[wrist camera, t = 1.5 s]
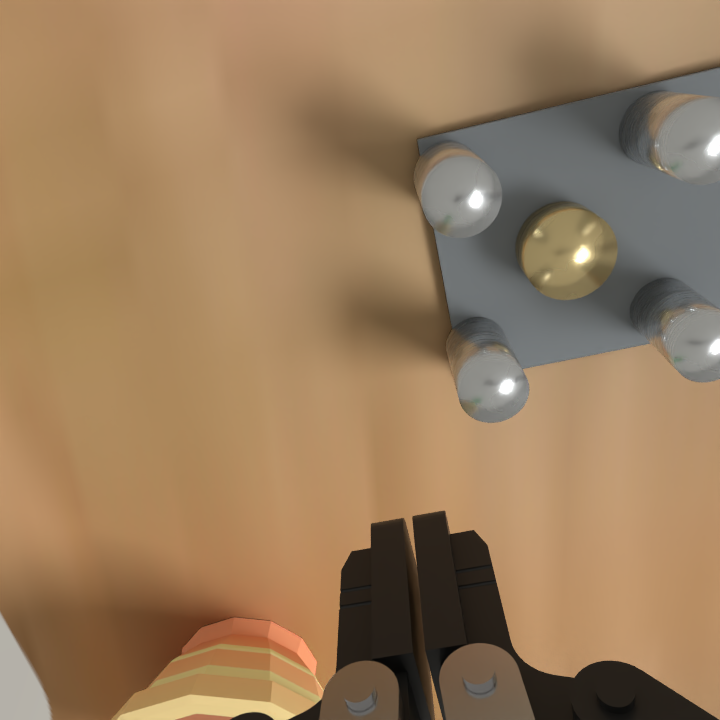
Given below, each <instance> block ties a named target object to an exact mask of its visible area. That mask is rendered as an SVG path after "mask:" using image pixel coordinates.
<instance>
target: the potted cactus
mask: <svg viewBox="0 0 720 720" xmlns="http://www.w3.org/2000/svg"><path fill="white" fill-rule="evenodd" d="M316 665H317V661H316V660H315V658H314V657H313V655H312V653H311V652H310V650H309V649H308V647H307V645H306V644H305V642H304V641H303V639H302V638H301V637H299V636H298V635H296V634H294V633H292V632H290V631H288V630H287V629H285V628H283V627H281V626H279V625H277V624H276V623H274V622H272V621H265V620H256V619H246V618H236V617H233V618H230V619H227V620H224V621H220V622H217V623H214V624H211V625H208V626H204V627H201V628H200V629H199V630H198V631H197V633H196V634H195V635H194V636H193V637H192V638H191V639H190V640H189V641H188V643H187V644H186V645H185V646H184V647H183V648H182V655H180V656H178V657H177V658H175V659H173V660H172V661H171V662H170V663H169V664H168V665H167V666H166V668H165V669H164V670H163V671H162V672H161V673H160V674H159V675H158V676H157V677H156V679H155V680H154V681H153V682H152V683H151V684H150V685H149V686H148V687H147V689H145V690H142V691H139V692H135V693H134V694H133V695H132V697H131V698H130V699H129V700H128V701H127V702H126V703H125V704H124V706H123V707H122V708H121V709H120V710H119V711H118V712H117V713H116V714H115V716H114V717H113V718H112V719H111V720H230V719H232V718H233V717H236V716H238V715H240V714H244V713H249V712H260V713H264V714H266V715H268V716H270V717H272V718H273V719H274V720H288V719H290V718H292V717H294V716H296V715H299V714H301V713H303V712H304V711H306V710H308V709H310V708H311V707H313V706H314V705H315V704H317V703H318V702H319V701H320V700H321V699H322V696H323V692H324V690H323V689H322V687H321V685H320V684H319V682H318V681H317V679H316V678H315V672H316Z"/></svg>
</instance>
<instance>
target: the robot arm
mask: <svg viewBox="0 0 720 720" xmlns="http://www.w3.org/2000/svg"><path fill="white" fill-rule="evenodd" d="M413 530H414V540H415V550H416V561H417V566H416V562H415V558H414V554H413V550H412V546H411V542H410V538H409V534H408V530H407V526H406V522H405V519H404V518H400V519H395V520H389V521H383V522H378V523H372V524H371V548H369V549H363V550H357V551H352V552H351V554H350V555H349V557H348V559H347V561H346V563H345V565H344V566H343V568H342V570H341V589H340V590H341V594H340V610H339V627H338V647H337V666H336V674H334V675H333V677H332V678H331V679H330V680H329V682H328V683H327V685H326V687H325V690H324V692H323V696H322V699H321V700H320V701H319V702H318V703H317V704H315V705H314V706H313V707H311V708H310V709H308V710H306V711H304V712H303V713H301V714H299V715H296V716H294V717H292V718H290V719H288V720H435V715H434V705H433V695H432V685H431V675H432V679H433V682H434V686H435V690H436V694H437V698H438V701H439V705H440V709H441V713H442V717H443V720H719V719H717V718H716V717H714V716H712V715H711V714H709V713H708V712H706V711H705V710H703V709H701V708H700V707H698V706H697V705H695V704H694V703H692V702H690V701H689V700H687V699H686V698H684V697H683V696H681V695H679V694H678V693H676V692H675V691H673V690H672V689H670V688H668V687H667V686H665V685H664V684H662V683H661V682H659V681H658V680H656V679H654V678H653V677H651V676H650V675H648V674H647V673H645V672H643V671H642V670H640V669H638V668H636V667H635V666H632V665H630V664H627V663H623V662H619V661H601V662H596V663H593V664H590V665H588V666H587V667H585V668H583V669H582V670H581V671H580V672H579V673H578V674H577V675H576V676H575V678H571V677H564V676H557V675H552V674H547V673H544V672H541V671H538V670H536V669H535V668H533V667H531V666H529V665H528V664H527V663H525V662H524V661H523V660H522V659H521V658H520V657H519V656H518V654H517V653H516V652H515V650H514V648H513V646H512V643H511V640H510V636H509V632H508V628H507V624H506V620H505V616H504V611H503V607H502V603H501V599H500V595H499V591H498V587H497V583H496V579H495V574H494V570H493V567H492V562H491V558H490V554H489V550H488V546H487V544H486V543H485V542H484V541H483V540H482V539H481V538H480V537H479V535H478V534H477V533H476V532H475V531H474V530H471V531H466V532H460V533H454V534H450V531H449V526H448V522H447V517H446V513H445V511H439V512H433V513H428V514H422V515H417V516H413ZM430 671H431V675H430ZM230 720H274V719H273V718H272V717H270V716H268V715H266V714H264V713H260V712H249V713H244V714H240V715H238V716H236V717H233V718H232V719H230Z"/></svg>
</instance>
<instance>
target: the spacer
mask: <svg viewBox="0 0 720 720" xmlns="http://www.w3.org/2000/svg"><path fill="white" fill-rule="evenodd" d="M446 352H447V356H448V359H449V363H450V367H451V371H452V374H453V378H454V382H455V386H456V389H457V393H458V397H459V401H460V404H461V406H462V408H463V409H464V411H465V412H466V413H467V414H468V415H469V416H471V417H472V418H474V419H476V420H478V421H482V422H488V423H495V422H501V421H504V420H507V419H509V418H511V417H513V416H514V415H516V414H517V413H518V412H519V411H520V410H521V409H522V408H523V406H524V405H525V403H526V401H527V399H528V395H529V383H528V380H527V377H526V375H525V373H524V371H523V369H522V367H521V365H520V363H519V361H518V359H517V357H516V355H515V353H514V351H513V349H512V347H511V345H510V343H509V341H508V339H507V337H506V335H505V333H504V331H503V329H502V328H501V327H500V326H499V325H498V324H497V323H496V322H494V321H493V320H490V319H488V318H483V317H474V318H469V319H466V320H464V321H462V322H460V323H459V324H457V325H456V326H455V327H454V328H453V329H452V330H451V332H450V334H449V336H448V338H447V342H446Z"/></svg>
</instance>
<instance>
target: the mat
mask: <svg viewBox="0 0 720 720" xmlns="http://www.w3.org/2000/svg"><path fill="white" fill-rule="evenodd" d="M654 91H669V92H677V93H686V94H694V95H702V96H710V97H719V98H720V67H717V68H713V69H708V70H704V71H700V72H696V73H692V74H688V75H683V76H679V77H675V78H671V79H667V80H662V81H658V82H654V83H650V84H646V85H642V86H637V87H633V88H629V89H625V90H621V91H616V92H612V93H608V94H604V95H600V96H596V97H591V98H587V99H583V100H579V101H575V102H571V103H566V104H562V105H558V106H554V107H550V108H545V109H541V110H537V111H533V112H529V113H525V114H520V115H516V116H512V117H508V118H504V119H499V120H495V121H491V122H487V123H483V124H479V125H474V126H470V127H466V128H462V129H458V130H453V131H449V132H445V133H441V134H437V135H433V136H428V137H424V138H420V139H417V142H418V148H419V153H420V156H421V155H422V154H423V153H424V152H425V151H426V150H427V149H428V148H429V147H431V146H432V145H435V144H437V143H440V142H444V141H455V142H459V143H461V144H464V145H465V146H467V147H468V148H470V149H471V150H472V151H473V152H474V153H475V154H476V155H478V156H479V157H480V158H481V159H482V160H483V161H484V162H485V163H486V164H487V165H488V166H490V167H491V168H492V170H493V171H494V172H495V173H496V175H497V177H498V179H499V181H500V184H501V188H502V203H501V207H500V210H499V212H498V214H497V216H496V218H495V219H494V221H493V222H492V223H491V224H490V225H489V226H488V227H487V228H486V229H485V230H483V231H482V232H480V233H479V234H476V235H474V236H471V237H466V238H452V237H448V236H446V235H443V234H441V233H439V232H438V231H437V230H435V229H434V228H433V229H434V234H435V239H436V245H437V250H438V255H439V261H440V266H441V272H442V277H443V282H444V288H445V293H446V299H447V304H448V309H449V315H450V320H451V325H452V329H453V328H454V327H455V326H456V325H457V324H459V323H460V322H462V321H464V320H466V319H469V318H474V317H483V318H488V319H490V320H493V321H494V322H496V323H497V324H498V325H499V326H500V327H501V328H502V329H503V331H504V333H505V335H506V337H507V339H508V341H509V343H510V345H511V347H512V349H513V351H514V353H515V355H516V357H517V359H518V361H519V363H520V365H521V367H522V369H524V368H529V367H534V366H539V365H544V364H549V363H555V362H560V361H565V360H570V359H575V358H580V357H585V356H590V355H595V354H600V353H605V352H610V351H615V350H620V349H625V348H630V347H635V346H640V345H645V344H650V342H649V341H648V340H647V339H646V338H645V337H644V336H643V335H642V334H641V333H640V332H639V331H638V330H637V329H636V328H635V327H634V325H633V323H632V321H631V318H630V306H631V303H632V301H633V298H634V297H635V295H636V294H637V292H638V291H639V290H640V289H641V288H642V287H644V286H645V285H646V284H648V283H650V282H652V281H654V280H657V279H661V278H674V279H678V280H680V281H682V282H684V283H685V284H686V285H688V286H689V287H691V288H692V289H693V290H695V291H696V292H698V293H699V294H700V295H702V296H703V297H704V298H706V299H707V300H709V301H710V302H711V303H713V304H714V305H716V306H717V307H718V308H720V180H719V181H717V182H714V183H711V184H706V185H695V184H690V183H687V182H685V181H682V180H680V179H677V178H675V177H672V176H670V175H667V174H665V173H662V172H660V171H657V170H655V169H652V168H650V167H647V166H645V165H642V164H640V163H637V162H635V161H633V160H631V159H630V158H629V157H628V156H627V155H626V154H625V153H624V151H623V150H622V148H621V145H620V141H619V127H620V123H621V120H622V118H623V116H624V114H625V112H626V111H627V109H628V108H629V107H630V105H631V104H632V103H633V102H634V101H636V100H637V99H638V98H640V97H641V96H643V95H645V94H647V93H650V92H654ZM559 201H569V202H575V203H578V204H581V205H583V206H585V207H586V208H588V209H589V210H591V211H592V212H594V213H595V214H596V215H598V216H599V217H601V218H602V219H603V220H605V221H606V222H607V223H608V224H609V226H610V227H611V229H612V230H613V232H614V234H615V237H616V240H617V247H618V253H617V259H616V263H615V266H614V268H613V270H612V272H611V274H610V276H609V277H608V278H607V280H606V281H605V282H604V283H603V284H602V285H601V286H600V287H599V288H598V289H596V290H595V291H593V292H592V293H590V294H588V295H586V296H583V297H581V298H577V299H572V300H557V299H553V298H550V297H547V296H545V295H544V294H542V293H540V292H539V291H538V290H537V289H536V288H535V287H534V286H533V285H532V283H531V282H530V281H529V279H528V278H527V276H526V275H525V274H524V272H523V271H522V270H521V268H520V266H519V264H518V261H517V258H516V251H515V246H516V239H517V236H518V233H519V231H520V229H521V227H522V225H523V223H524V222H525V221H526V220H527V218H528V217H529V216H530V215H531V214H532V213H534V212H535V211H536V210H538V209H539V208H541V207H543V206H545V205H547V204H550V203H554V202H559Z"/></svg>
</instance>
